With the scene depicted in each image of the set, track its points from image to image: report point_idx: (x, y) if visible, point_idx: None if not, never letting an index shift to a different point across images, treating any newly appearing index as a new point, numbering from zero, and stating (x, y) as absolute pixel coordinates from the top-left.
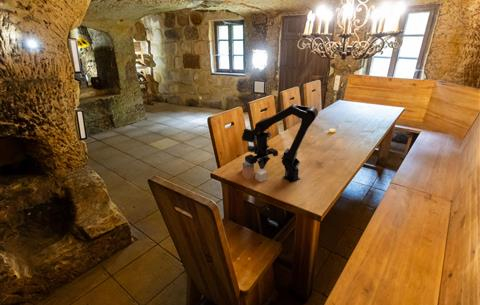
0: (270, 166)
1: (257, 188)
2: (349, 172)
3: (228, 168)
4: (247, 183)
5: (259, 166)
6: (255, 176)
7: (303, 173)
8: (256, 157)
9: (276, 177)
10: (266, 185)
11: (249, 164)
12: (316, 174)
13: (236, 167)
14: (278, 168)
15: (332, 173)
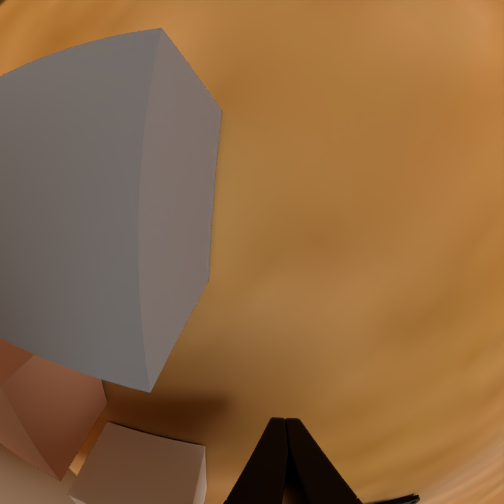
0: (487, 333)
1: (79, 470)
2: (499, 492)
3: (19, 15)
4: None
5: (248, 461)
6: (96, 445)
7: (453, 491)
8: None
9: None
10: None
11: (12, 329)
12: (461, 500)
13: (78, 12)
14: (473, 408)
15: (483, 496)
